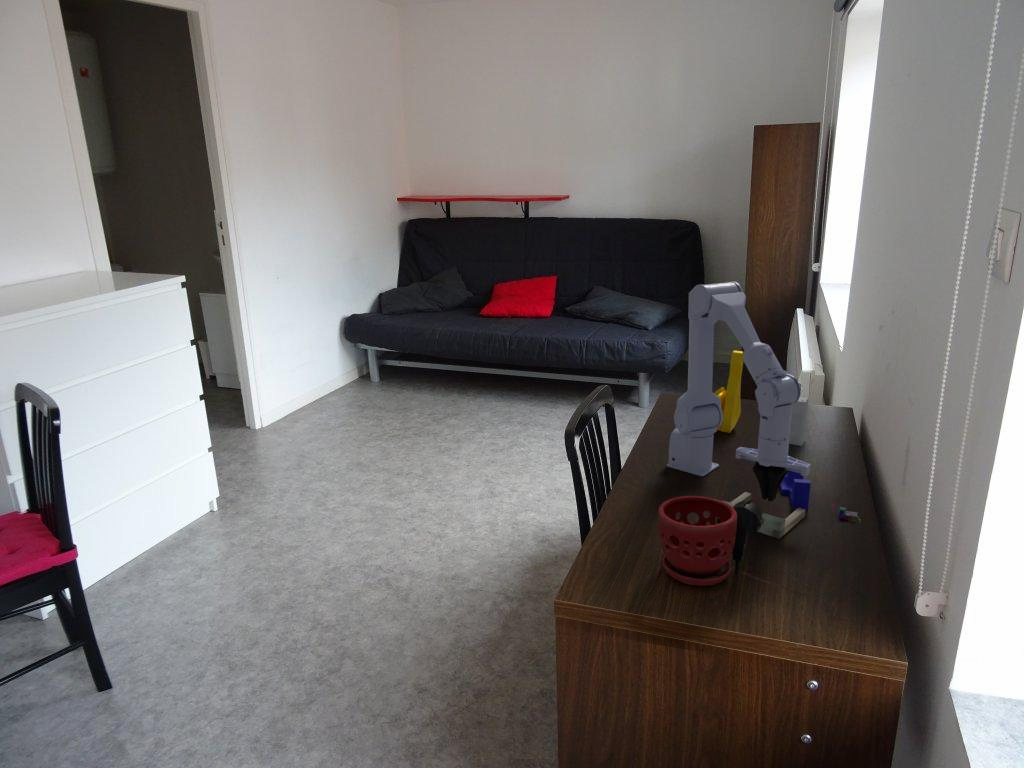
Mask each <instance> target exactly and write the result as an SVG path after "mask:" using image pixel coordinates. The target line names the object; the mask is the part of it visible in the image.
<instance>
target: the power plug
mask: <svg viewBox="0 0 1024 768" xmlns="http://www.w3.org/2000/svg"><path fill="white" fill-rule="evenodd" d="M733 508H734V509H735V511H736V513H737V531H736V538H735V544H734V548H733V551H732V554H731V556H732V560H733V561H735V563H734V565H735V567H734V574H735V575H739V572H740V563H741V562H742V561H743V559H744V556H745V553H746V552H745V551H746V547H747V544H748V540H749V538H752V537H755V535H756V534H758V533H759V532H758V531H759V530H760V528H761V526H762V524H763V523H764V518H762V513H763V511H762V510H761V507H759V506H758V505H757V504H755V503H753V502H749V504H748V502H747V501H741V502H738V503H737V504H735V505H734V506H733Z"/></svg>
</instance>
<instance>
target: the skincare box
mask: <svg viewBox="0 0 1024 768" xmlns="http://www.w3.org/2000/svg"><path fill="white" fill-rule="evenodd" d="M809 399H810V398H809V397H804V396H800V398H799V400H798V401H797V402H796V403H794V404H792V416H791V427H790V437H789V445H795V446H800V447H803V445H804V443H805V441H806V435H807V434H806V433H807V424H808V421H807V420H808V408H809Z"/></svg>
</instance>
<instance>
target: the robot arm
mask: <svg viewBox="0 0 1024 768" xmlns="http://www.w3.org/2000/svg"><path fill="white" fill-rule="evenodd" d="M746 302H747V297H746V294H745V293H744V290H743V288H742V286H741V285H740V284H739V282H737V281H733V280H732V281H728V282H718V283H710V284H696V285H695V286H694V287H693V288H692V289H691V290H690V292H688V312H687V313H688V321H689V322H688V323H689V324H688V329H689V330H688V362H687V363H688V364H687V366H688V367H687V371H688V373H687V390H686V392H684V393H683V394H682V395H681V396H679V397H678V399H676V408H675V411H674V414H673V421H674V425H675V428H674V429H673V431H672V432H671V434H670V437H669V441H668V442H669V443H668V444H669V445H668V463H667V464H666V467H668V468H672V469H675V470H679V471H682V472H686V473H689V474H691V475H695V476H699V477H705V476H706V475H708V474H710V472H712V471H714V470H715V469H717V468H718V467H720V464H719V463H716V462H713V451H714V450H713V449H714V434H715V433H717V428H718V427H719V426H720V425H721V423H722V420H723V413H722V410H721V405H720V401H721V400H720V398H719V397H718V396H717V395H715V394H714V393H715V392H713V376H714V375H713V373H714V371H713V370H714V342H715V341H714V338H715V324H716V323H717V322H719V321H722V322H726V325H727V326H728V327H729V329H730V331H731V332H732V334H733V335H734V336H735V338H736V340H737V341H738V342H739V344H740V346H741V347H742V348H743V350H744V351H743V364H745V366H746V367H747V370H748V371H749V374H750V375H751V378H752V379H753V381H754V383H755V385H756V386H757V387H756V388H755V389H754V394H755V399H756V401H757V404H758V406H757V407H758V408H757V410H758V411H757V412H758V413H759V414H760V418H759V427H758V441H757V443H758V444H757V448H749V447H745V446H744V447H742V446H739V447H737V448H736V450H735V459H739V460H741V459H744V460H747V461H751V462H755V464H754V465H753V467H752V471H753V473H754V475H755V478H756V479H757V481H758V485H759V488H760V492H761V499H762V500H764V501H765V500H767V501H768V502H774V500H775V499H776V498H777V495H778V493H779V488H780V484H781V482H782V481H783V479H784V477H785V476H786V474H787V473H788V471H793V472H797V473H800V474H801V475H803V477H807V476H809V475H810V473H811V466H812V464H811V463H808V462H805V461H803V462H802V461H800V459H798V458H794V457H792V456H790V455H789V447H790V446H789V445H790V444H789V437H790V427H791V416H792V404H794V403H796V402H797V401H798V400H799V398H800V397H801V392H802V391H801V385H800V384H799V381H798V379H797V378H796V376H794V375H793V374H790V373H789V372H788V371H786V370H784V369H783V367H782V365H781V364H780V362H779V360H778V358H777V356H776V354H775V353H774V350H773V349H772V347H771V346H770V345H769V344H767V343H764V342H761V340H760V338H759V336H758V334H757V332H756V329H755V327H754V325H753V323H752V320H751V318H750V317H749V314H748V312H747V310H746V308H745V306H746Z"/></svg>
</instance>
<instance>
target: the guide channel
mask: <svg viewBox="0 0 1024 768" xmlns="http://www.w3.org/2000/svg"><path fill="white" fill-rule="evenodd" d="M722 501H723V502H725V503H727V504H729V505H730V506H732V507H733V506H734V505H735V504H737V503H738V502H741V501H747V503H750V501H752V493H750V492H747V491H744V492H743V493H742V494H741V495H739V496H738V497H736V498H735V499H733V500H731V501H729V502H728V501H727V500H726V501H725V500H722ZM806 510H807V509H802V508H795V510H794V511H793V512H792V513H790V514H789V515H788V516H787V517H785V518H781V517H777V516H775V515H771V514H768V513H765V512H762V518H764V523H763V524H762V526H761V528H760V530H759V531H758V532H757V533H760V534H764V535H767V536H770V537H773V538H776V539H781V538H782V537H784V535H786V533H788V532H789V531H791V529H793V527H795V525H797V524H798V523H799V522H800V521H802V519H804V518H805V517H806ZM718 519H719V520H720V518H718ZM727 521H728V520H727Z"/></svg>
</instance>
